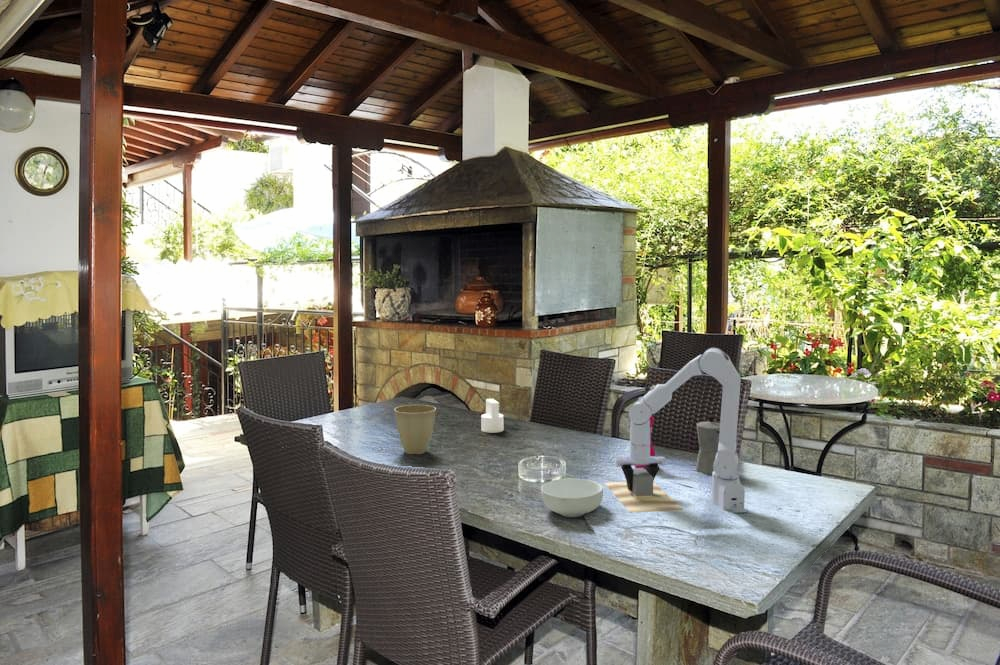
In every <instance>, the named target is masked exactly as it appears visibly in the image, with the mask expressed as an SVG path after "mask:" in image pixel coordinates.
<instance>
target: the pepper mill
mask: <svg viewBox="0 0 1000 665" xmlns="http://www.w3.org/2000/svg"><path fill="white" fill-rule="evenodd" d="M649 419H650V456H655V457H656V451H655V450H656V449H655V448H654V445H653V441H652V432H653V427H652V426H653V425H654V422H655V418H654V416H653V414H652V415H651V417H650V418H649ZM633 466H634V468H644V469H645V470H646V465H633Z"/></svg>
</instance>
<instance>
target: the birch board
mask: <svg viewBox="0 0 1000 665" xmlns="http://www.w3.org/2000/svg"><path fill="white" fill-rule="evenodd" d="M604 485H605V486H607V488H608V489H609V490H610V491H611V493H612V494H613V495H614V496H615V497H616V498H617V500H618V501H619V502H620V503H621V504H622V505H623V506H624V508H625V509H626V510H627V511H628V512H629V513H648V512H649V513H651V512H653V513H654V512H668V511H669V512H671V511H684V508H682V506H681V505H679V504H678V503H677V502H676V501H675V500H674V499H673V498H672V497H671V496H670V495H668V493H666V491H664V490H663V489H662V488H661V487H660V486H659V485H657V483H656V482H654V481H653V498H635V497H634V496H633V495H632V494H631V493H630V491H629V490H628V489H627V481H611V482H604Z"/></svg>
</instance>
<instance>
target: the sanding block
mask: <svg viewBox="0 0 1000 665" xmlns="http://www.w3.org/2000/svg"><path fill="white" fill-rule="evenodd" d="M632 469H633V470H634V471H633V479H632V485H633V488H632V491H630V493H631V494H632V495H633V496H634V497H635V498H653V482H654V481H653V476H652V475H651V474H649V473H648V472H647V471H646V470H645V469H644V468H636V467H632ZM627 489H628V485H627Z"/></svg>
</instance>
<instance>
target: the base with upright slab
mask: <svg viewBox="0 0 1000 665" xmlns="http://www.w3.org/2000/svg"><path fill="white" fill-rule="evenodd" d="M504 418H505V417H504V414H502V413H500V402H499V401H497V400H496V399H494V398H486V399H485V413H484V414H481V416H480V419H481V421H480V422H481V424H480V425H481V426H480V427H481V428H480V429H481V432H483V433H490V434H491V433H493V434H494V433H496V434H497V433H501V432H503V431H504V429H505V427H504V421H505V420H504Z"/></svg>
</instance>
